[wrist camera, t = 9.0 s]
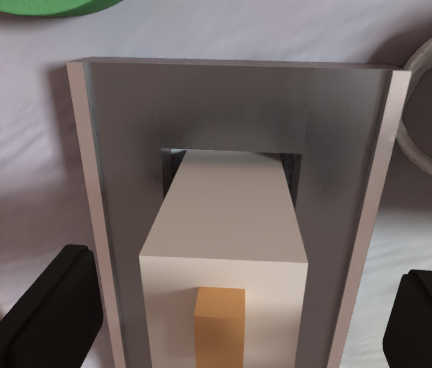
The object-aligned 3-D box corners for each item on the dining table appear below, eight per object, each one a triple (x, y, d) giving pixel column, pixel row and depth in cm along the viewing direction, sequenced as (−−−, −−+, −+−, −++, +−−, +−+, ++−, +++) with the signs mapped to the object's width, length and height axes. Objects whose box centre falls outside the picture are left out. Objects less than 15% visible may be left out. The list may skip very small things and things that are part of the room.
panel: (386, 63, 14) (411, 71, 12) (301, 461, 26) (306, 500, 24) (91, 56, 14) (66, 62, 12) (142, 446, 26) (133, 482, 24)
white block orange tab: (278, 151, 16) (316, 292, 7) (272, 230, 17) (297, 412, 9) (186, 149, 16) (126, 282, 8) (190, 227, 18) (143, 401, 10)
